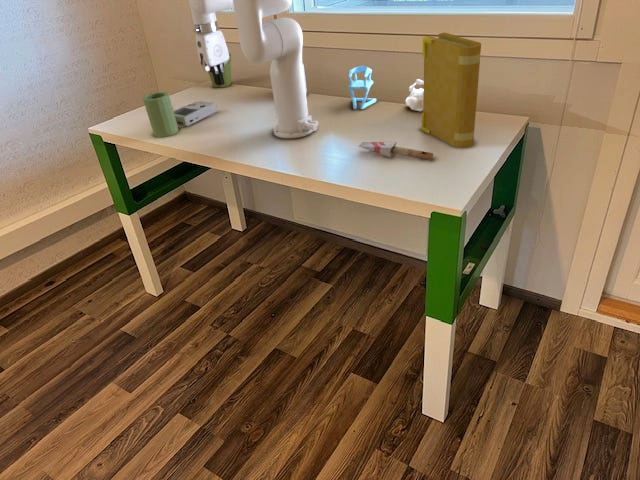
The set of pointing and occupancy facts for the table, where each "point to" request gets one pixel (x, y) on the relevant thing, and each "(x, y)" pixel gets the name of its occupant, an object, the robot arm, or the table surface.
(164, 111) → the cylindrical cup
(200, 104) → the handheld gaming device
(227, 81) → the plant pot
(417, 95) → the rabbit figurine
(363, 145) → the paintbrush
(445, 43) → the book
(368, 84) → the chair
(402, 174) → the table surface
